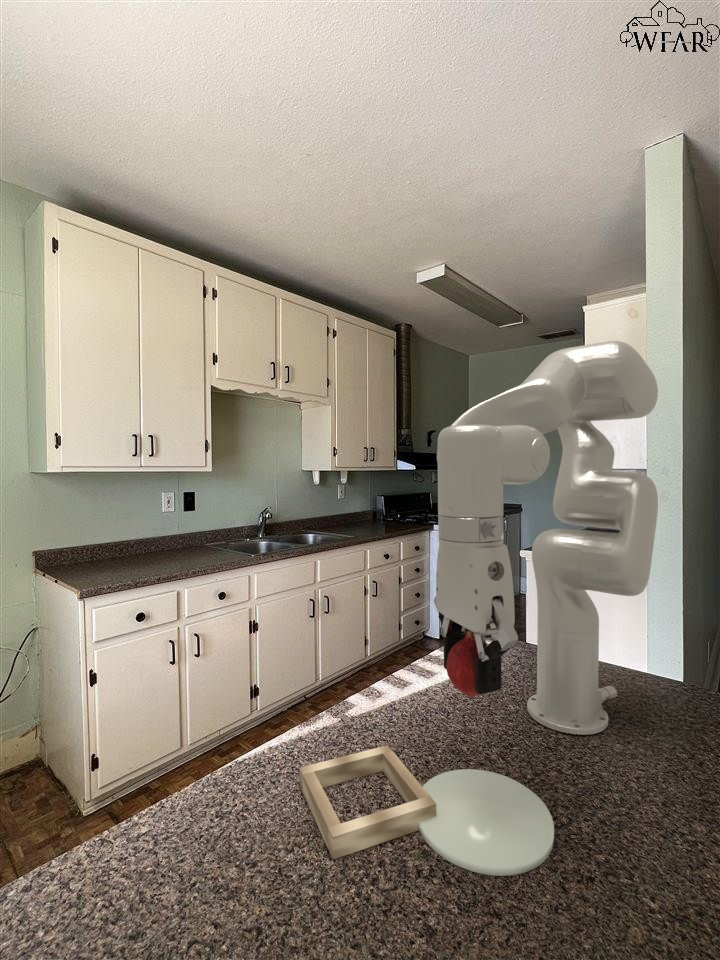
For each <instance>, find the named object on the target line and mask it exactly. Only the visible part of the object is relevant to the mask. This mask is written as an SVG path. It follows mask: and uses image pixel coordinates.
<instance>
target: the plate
mask: <svg viewBox="0 0 720 960" xmlns="http://www.w3.org/2000/svg"><path fill="white" fill-rule="evenodd" d="M422 787H423V788H424V789H425V791H426V792H427V793H428V794H429V795H430V797H431V798H432V799H433V800H434V801H435V803H436V816H435V817H432V818H429V819H426V820H423V821H420V822H419V830H418V831H419V833H420V834H421V836H422V838H423V840H424V841H425V842H426V844H428V845H429V847H430V848H431V849H432V850H433V851H434V852H435V853H437V854H438V855H439V856H440V857H442V858H443V859H444V860H446V861H448V862H450V863H451V864H453V865H455V866H457V867H459V868H462V869H464V870H467V871H470V872H474V873H475V874H481V875H485V876H486V875H487V876H495V877H497V876H498V877H504V876H506V877H508V876H509V877H510V876H516V875H521V874H524V873H527V872H529V871H532V870H534V869H536V868H538V867H539V866H540V865H542V864H543V863H544V862H545V861H546V860H547V859H548V857H549V856H550V854H551V853H552V851H553V847H554V843H555V842H554V841H555V823H554V820H553V816H552V815H551V813H550V810H549V809H548V807H547V805H546V804H545V803H544V802H543V801H542V798H540V797H539V796H538V795H537V794H536V793H534V792H533V791H532V790H531V789H529V788H528V787H526V785H524V784H523V783H521V782H518V781H517V780H515V779H514V778H511V777H508V776H505V775H503V774H500V773H497V772H493V771H489V770H483V769H474V768H473V769H472V768H471V769H470V768H469V769H468V768H463V769H462V768H461V769H454V770H449V771H446V772H442V773H439V774H437V775H435V776H433V777H431V778H430V779H429V780H428V781H426V782H425V783H424V784H423V785H422Z"/></svg>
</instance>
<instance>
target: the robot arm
mask: <svg viewBox="0 0 720 960" xmlns="http://www.w3.org/2000/svg"><path fill="white" fill-rule="evenodd" d="M658 396H659V388H658V384H657V379H656V377H655V375H654V373H653V371H652V369H651V368H650V367H649V365H648V364H647V362H646V361H645V360H644V358H643V357H642V355H640V352H638V351H637V350H636V349H635V348H634V347H633V346H631V345H630V344H628V343H627V342H624V341H620V340H609V341H603V342H597V343H591V344H585V345H584V344H583V345H579V346H578V345H577V346H573V347H572V346H571V347H566V348H562V349H558V350H556V351H554V352H552V353H549V354H548V355H547V356H546V357H545V358H544V359H543V360H542V361H541V363H539V365H537V366H536V367H535V368H534V370H533V371H532V372H531V373H530V374H529V375H528V376H527V378H525V380H524V381H523V382H522V383H521V384H519V385H517V386H514V387H512V388H509V389H508V390H506V391H503V392H501V393H499V394H497V395H495V396H493V397H491V398H489V399H487V400H485V401H482V402H480V403H478V404H476V405H475V406H473V407H470V409H467V410H466V411H465V412H464V413H462V414H461V415H460V416H459V417H458V418H457V419H456V420H455V421H453V423H452V424H451V425H450V426H447V427H445V428H443V429H442V430H440V432H439V434H438V437H437V451H436V462H437V512H438V513H437V514H438V516H437V517H438V519H437V523H438V525H437V527H438V537H437V538H438V539H437V540H438V547H437V548H438V551H437V559H436V573H435V574H436V576H435V577H436V578H435V580H436V581H435V596H434V598H433V604H434V606H435V608H436V611H437V613H438V619H439V621H440V624H441V629H440V632H441V636H442V637H443V668H444V669H445V670H446V671H447V668H446V665H447V657H448V654H449V652H450V650H451V648H452V647H453V646H454V645H455V644H456V643H457V642H459V641H460V640H462V639H464V638H465V636H466V634H467V633H465V632H466V629H467V630H468V631H472V632H474V635H475V640H476V645H477V649H478V654H479V658H475V690H476V692H477V693H478V695H484V694H489V693H492V692H497V691H500V690H501V689H502V658H505V657H506V653H507V652H508V651H509V650H510V648H511V647H512V646H514V645H515V644H516V643H517V642H518V640H519V636H518V633H517V631H516V629H515V622H516V621H515V620H516V619H515V616H516V615H515V614H516V613H515V595H514V582H513V572H512V565H511V564H512V563H511V559H510V553H509V550H508V546H507V544H504V485H525V484H526V485H528V484H530V483H533V482H535V481H536V480H538V479H539V478H541V477H542V475H544V473H545V472H546V471H547V468H548V467H549V463H550V459H551V451H550V446H549V442H548V440H547V437H545V435H544V434H549V433H551V432H554V431H556V430H557V432H558V435H559V438H560V441H561V445H562V453H561V458H560V459H561V460H560V465H559V469H558V473H557V474H558V475H557V477H556V483H555V487H554V493H553V499H552V500H553V501H552V511H553V513H554V517H555V518H556V519H557V520H558V521H560V522H561V523H564V524H565V525H572V526H578V527H586V528H587V527H588V528H598V529H599V528H600V529H611V530H618V531H619V532H617V533H616V532H606V531H605V532H604V531H594V530H593V531H592V530H588V529H587V530H585V529H584V530H583V529H574V528H552V529H547V530H545V531H542V532H541V533H539V534H538V535H537V536H536V537H535V538H534V541H533V543H532V547H531V560H532V569H533V571H534V579H535V584H536V585H535V586H536V595H537V596H536V600H537V601H536V602H537V630H536V631H537V634H536V635H537V642H536V643H537V647H536V649H537V652H536V654H537V655H536V656H537V657H536V658H537V661H536V662H537V663H536V666H537V667H536V668H537V669H536V694H535V693H534V694H533V695H531V696H529V698H528V700H527V702H526V703H527V704H526V708H527V712H528V714H529V715H530V717H532V718H533V719H534V720H535V721H536V722H537V723H538V724H540V725H542V726H544V727H546V728H548V729H551V730H554V731H556V732H560V733H564V734H568V733H569V735H570V734H571V735H576V734H577V735H578V736H579V735H580V736H582V735H583V736H587V735H589V736H590V735H595V734H598V733H601V732H604V731H605V730H606V729H607V727H608V725H609V715H608V712H607V711H606V710H605V709H604V707H603V706H602V704H603V703H604V702H605V701H606V700H610V699H614V698H616V697H617V696H618V692H617V689H616V688H615V687H614V686H613V685H607V686H604V687H601V688H600V687H599V664H600V662H599V653H600V652H599V651H600V650H599V645H600V617H599V613H598V610H597V608H596V606H595V605H596V604H595V603H594V602H593V600H592V598H591V596H590V595H589V594H588V593H587V591H592V592H598V593H605V594H609V595H617V596H623V597H634V596H639V595H640V594H642V593H643V592H644V591H645V590H646V588H647V586H648V582H649V579H650V574H651V568H652V560H653V551H654V545H655V538H656V529H657V521H658V513H659V511H658V510H659V496H658V491H657V488H656V487H657V486H656V484H655V482H654V481H653V479H652V478H651V477H649V476H648V475H646V474H643V473H640V472H635V471H633V472H630V471H613V467H614V461H615V455H616V454H615V449H614V447H613V444H611V442H610V441H609V439H608V438H607V437H606V436H605V435H604V434H603V432H601V430H600V429H598V428H597V427H595V425H594V424H593V423H592V422H595V421H597V422H598V421H600V422H601V421H614V420H630V419H631V420H632V419H640V418H644V417H647V416H648V415H649V414H651V413H652V411H653V410H654V409H655V407H656V405H657V401H658ZM487 625H489V626H490V628H487ZM488 636H491V641H490V642H489V644H487V641H486V637H488Z"/></svg>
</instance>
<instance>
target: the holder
mask: <svg viewBox="0 0 720 960" xmlns="http://www.w3.org/2000/svg"><path fill="white" fill-rule="evenodd" d="M381 772H383V773H384V775H385V776H386V777H387V779H388V780H389V782H390V783H391V784H392V785H393V787H394V788H395V789H396V790H397V792H398V793H399V795H400V796H401V797H402V799H403V800H404V801H405V803H402V804H399V805H395V806H393V807H388V808H386V809H383V810H380V811H376V812H373V813H371V814H366V815H364V816H360V817H358V818H354V819H351V820H348V821H345V822H342V823H341V821H340V819H339V817H338V815H337V814H336V811H335V809H334V808H333V805H332V804H331V802H330V800H329V798H328V795H327V794H326V792H325V789H323V788H327V787H330V786H334V785H338V784H341V783H344V782H348V781H352V780H355V779H359V778H362V777H366V776H370V775H374V774H377V773H381ZM299 787H300V790H301V793H302V794H303V796H304V799H305V801H306V803H307V805H308V808H309V810H310V812H311V814H312V816H313V819H314V821H315V823H316V825H317V827H318V830H319V832H320V834H321V836H322V839H323V840H324V843H325V845H326V847H327V850H328V851H329V854H330V856H331V858H332V860H336V859H338V858H339V859H340V858H342V857H345V856H348V855H351V854H353V853H357V852H359V851H362V850H366V849H368V848H372V847H374V846H377V845H381V844H382V843H386V842H389V841H391V840H394V839H397V838H400V837H404V836H407V835H408V834H412V833H415V832H418V831H419V822H420V821H423V820H426V819H429V818H432V817H435V816H436V803H435V801H434V800H433V799H432V798H431V797H430V795H429V794H428V793H427V792H426V791H425V789H424V788H423V785H421V783H420V782H419V781H418V780H417V778H415V776H414V774H412V773H411V771H410V770H409V769H408V768H407V766H406V765H405V764H404V763H403V762H402V761H401V759H400V758H399V757H398V756H397V754H396V753H395V752H394V751H393V750H392V749H391V748H390V746H389V745H388V744H387V745H383V746H378V747H375V748H371V749H367V750H363V751H360V752H355V753H352V754H347V755H344V756H340V757H336V758H333V759H328V760H325V761H321V762H317V763H313V764H309V765H306V766H300V767H299Z"/></svg>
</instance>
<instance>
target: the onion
mask: <svg viewBox="0 0 720 960" xmlns="http://www.w3.org/2000/svg"><path fill="white" fill-rule="evenodd" d="M465 634H466V636H465V638H464V639H462V640H460V641H459V642H457V643H456V644H455V645H454V646H453V647H452V648H451V650H450V652H449V654H448V657H447V665H446V668H447V670H446V673H447V676H448V678H449V680H450V682H451V683H452V685H453V686H454V687H455V688H456V689H457V690H458V691H459V692H460V693H463V694H464V695H465V696H467V697H469V698H474V697H477V696H478V695H479V694H478V693H477V692H476V690H475V658H479V654H478V649H477V645H476V640H475V635H474V632H472V631H470V630H468V631H466V633H465Z"/></svg>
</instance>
